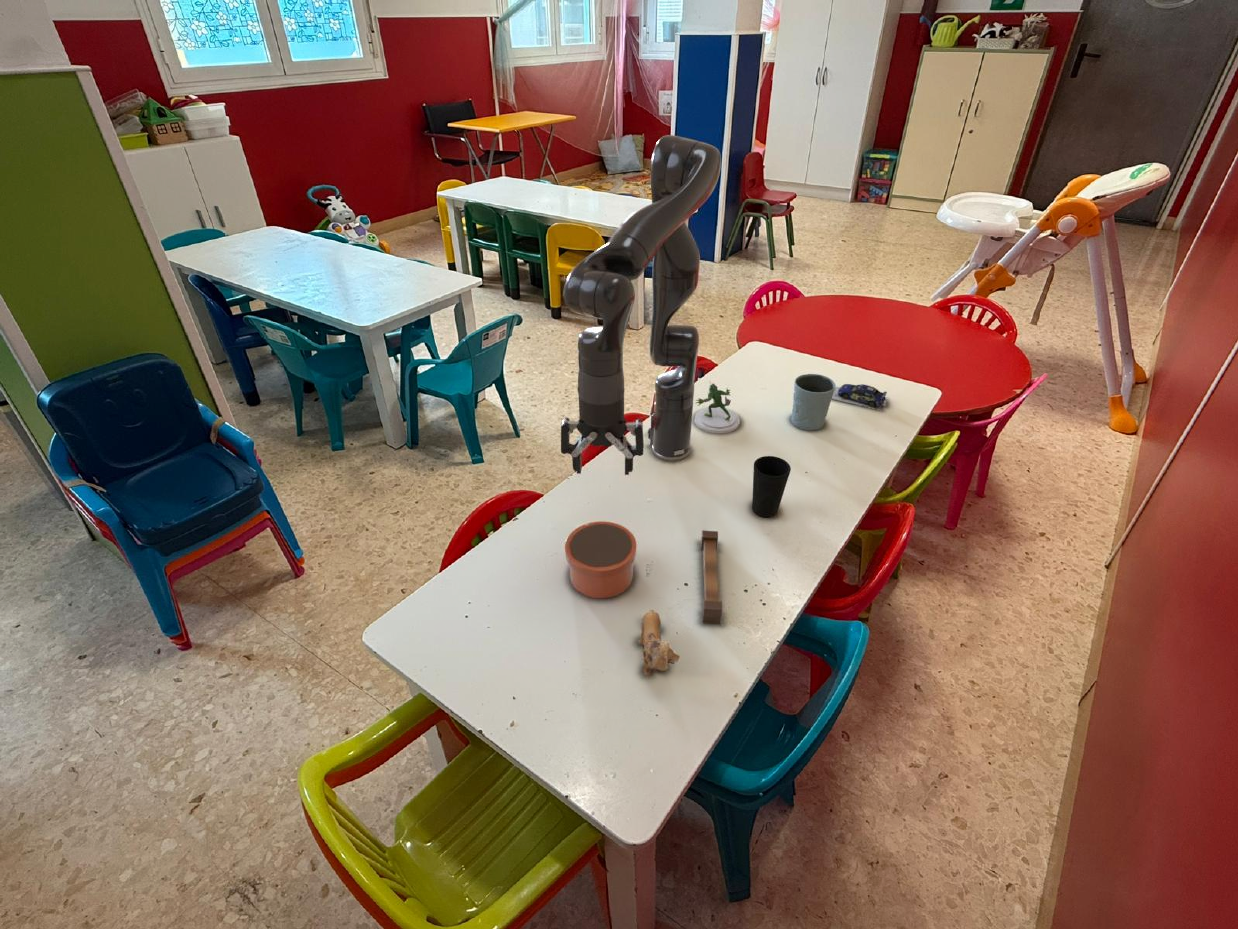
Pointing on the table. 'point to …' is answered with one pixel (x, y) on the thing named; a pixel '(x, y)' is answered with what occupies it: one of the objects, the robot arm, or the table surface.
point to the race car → (860, 396)
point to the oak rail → (710, 578)
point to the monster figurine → (716, 413)
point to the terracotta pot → (601, 558)
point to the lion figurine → (655, 645)
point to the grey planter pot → (811, 401)
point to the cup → (769, 485)
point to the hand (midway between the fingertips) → (602, 471)
